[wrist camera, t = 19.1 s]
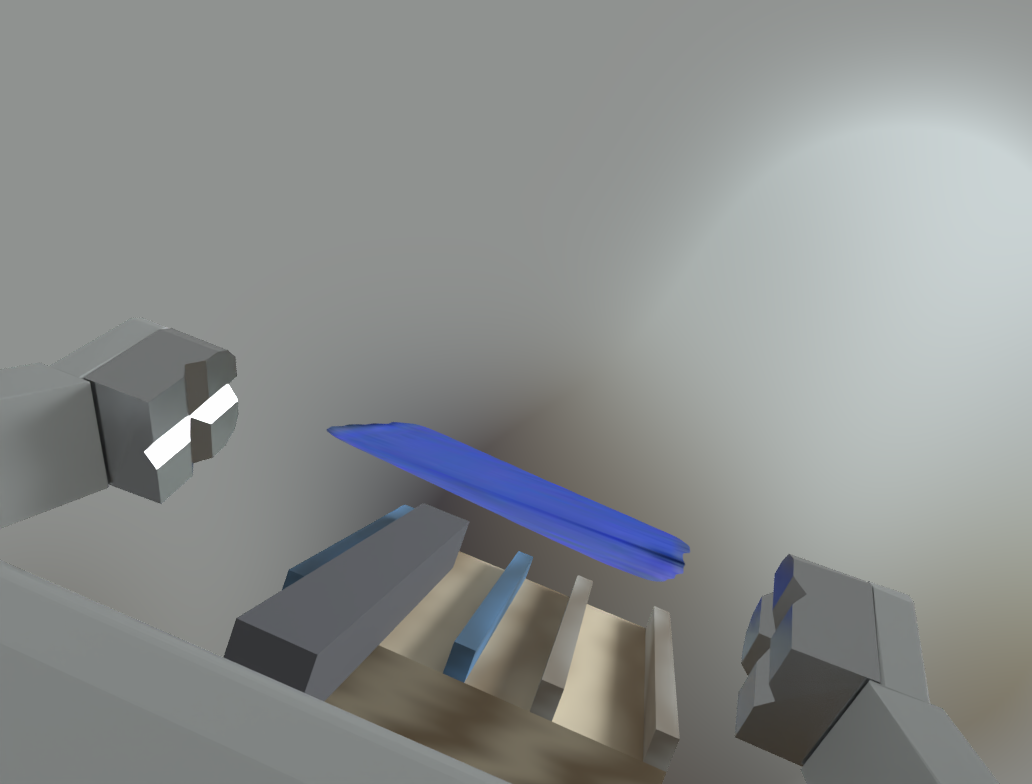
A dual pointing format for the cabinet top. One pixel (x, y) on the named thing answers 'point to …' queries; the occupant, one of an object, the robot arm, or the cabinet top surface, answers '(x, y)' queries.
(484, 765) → the riser
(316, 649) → the dark grey piece
